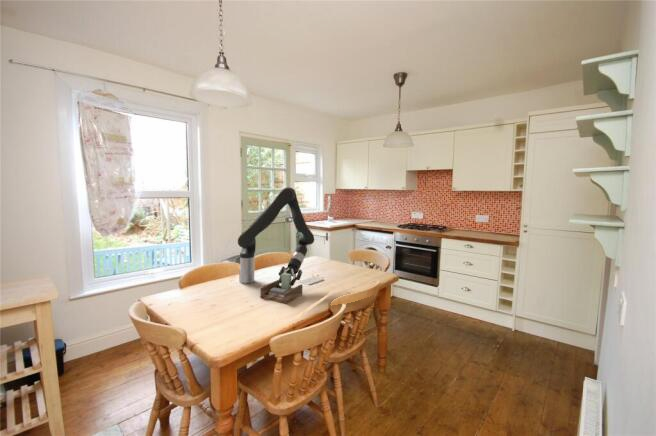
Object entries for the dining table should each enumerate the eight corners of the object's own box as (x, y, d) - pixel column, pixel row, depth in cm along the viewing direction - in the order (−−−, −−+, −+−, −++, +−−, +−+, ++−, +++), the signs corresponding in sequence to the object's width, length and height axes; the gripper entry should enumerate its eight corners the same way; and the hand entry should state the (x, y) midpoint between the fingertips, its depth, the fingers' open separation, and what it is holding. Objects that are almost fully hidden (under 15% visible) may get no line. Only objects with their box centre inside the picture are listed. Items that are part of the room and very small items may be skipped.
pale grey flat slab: (278, 288, 183) (291, 292, 176) (278, 283, 183) (291, 288, 175) (311, 277, 207) (323, 281, 199) (311, 273, 207) (323, 277, 199)
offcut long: (267, 297, 163) (267, 292, 163) (273, 294, 168) (273, 290, 167) (284, 301, 158) (284, 296, 157) (290, 298, 162) (290, 293, 162)
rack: (260, 299, 162) (260, 287, 161) (277, 291, 176) (277, 279, 175) (286, 306, 154) (286, 293, 153) (302, 296, 168) (302, 284, 167)
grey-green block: (281, 293, 169) (281, 274, 167) (284, 292, 171) (284, 272, 170) (288, 295, 166) (288, 275, 165) (291, 293, 169) (291, 274, 168)
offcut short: (269, 293, 162) (269, 289, 162) (273, 290, 166) (273, 287, 166) (283, 295, 159) (283, 292, 159) (287, 293, 163) (287, 289, 163)
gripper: (284, 256, 177) (272, 278, 168) (303, 259, 170) (292, 283, 161) (289, 262, 182) (278, 285, 173) (308, 265, 175) (297, 289, 166)
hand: (285, 284), depth 167 cm, fingers open, 8 cm apart
